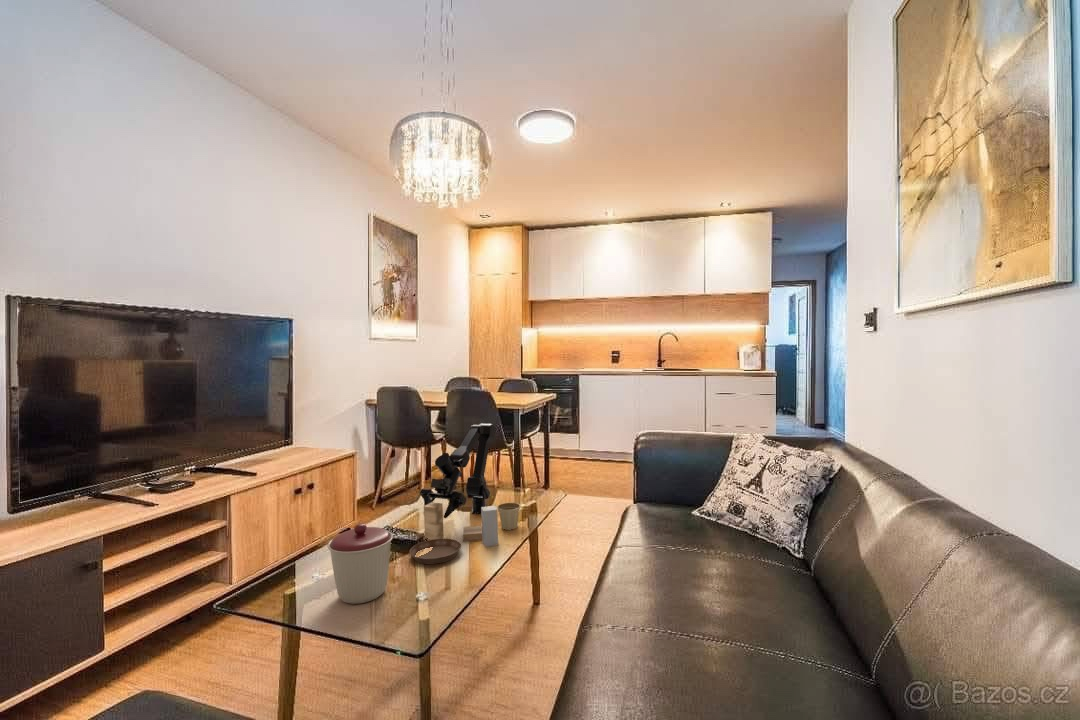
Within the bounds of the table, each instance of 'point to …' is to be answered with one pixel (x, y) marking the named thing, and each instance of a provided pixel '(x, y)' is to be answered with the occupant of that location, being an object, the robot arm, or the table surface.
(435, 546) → the plant saucer
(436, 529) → the oak pillar
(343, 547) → the canister
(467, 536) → the walnut block
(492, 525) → the grey pillar
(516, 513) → the flower pot
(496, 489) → the table surface
